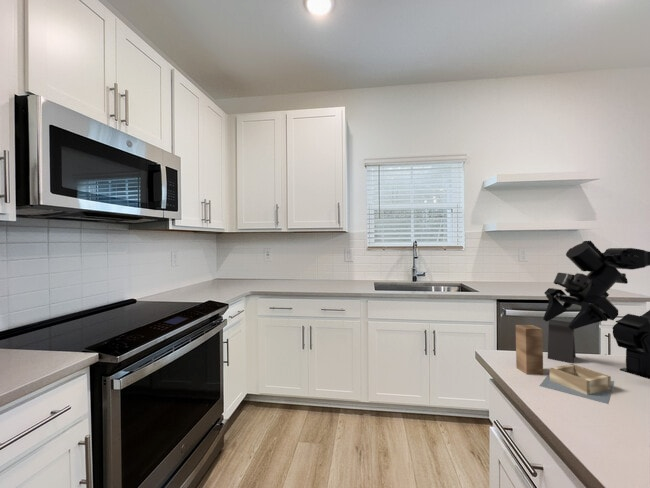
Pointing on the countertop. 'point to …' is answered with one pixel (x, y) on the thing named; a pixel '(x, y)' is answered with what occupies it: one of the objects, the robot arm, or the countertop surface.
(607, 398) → the slate board
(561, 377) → the maple socket
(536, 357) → the walnut block
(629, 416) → the countertop surface
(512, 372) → the countertop surface
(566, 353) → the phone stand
